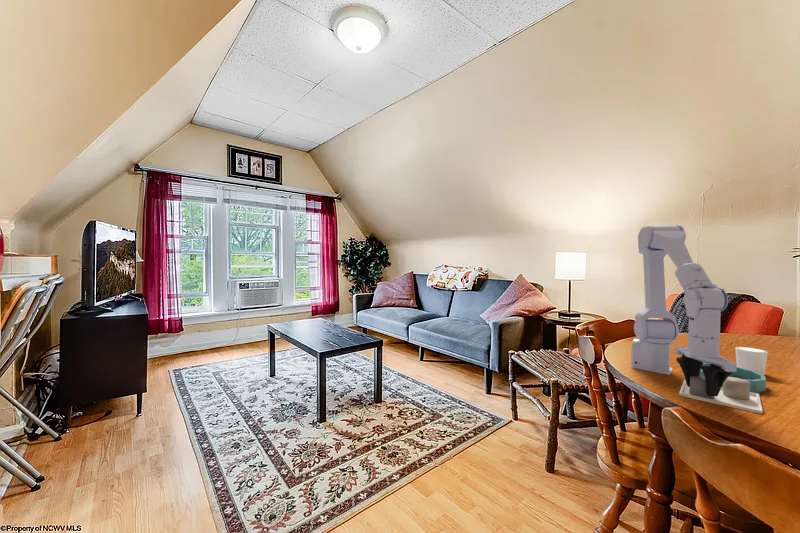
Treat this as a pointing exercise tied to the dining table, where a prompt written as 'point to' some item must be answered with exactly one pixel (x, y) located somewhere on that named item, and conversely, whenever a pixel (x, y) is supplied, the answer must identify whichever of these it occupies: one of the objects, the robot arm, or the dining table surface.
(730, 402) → the parts tray
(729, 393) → the brown stone
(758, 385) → the bowl
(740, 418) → the dining table surface
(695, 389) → the charcoal stone
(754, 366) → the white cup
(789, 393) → the dining table surface
